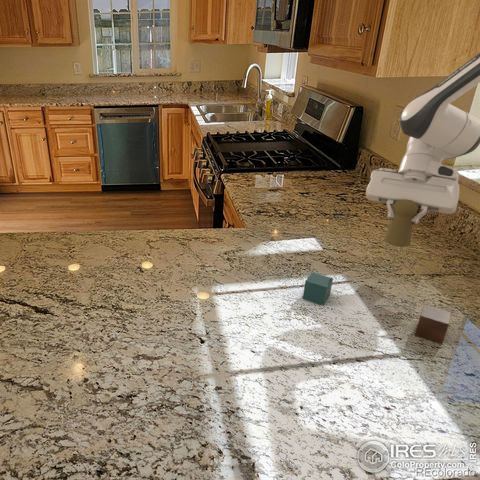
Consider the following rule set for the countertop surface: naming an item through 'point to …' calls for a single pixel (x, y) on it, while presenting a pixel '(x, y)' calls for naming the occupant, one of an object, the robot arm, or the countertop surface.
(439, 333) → the block walnut
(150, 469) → the countertop surface
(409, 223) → the cork
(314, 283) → the block teal
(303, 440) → the countertop surface
